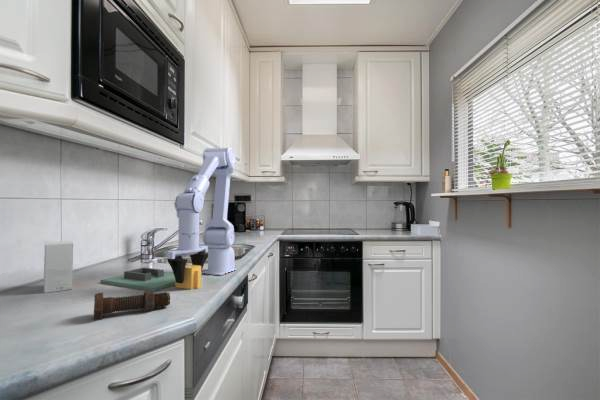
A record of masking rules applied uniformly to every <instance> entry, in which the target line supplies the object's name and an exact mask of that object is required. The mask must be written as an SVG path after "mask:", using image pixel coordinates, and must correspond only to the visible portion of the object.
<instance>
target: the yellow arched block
mask: <svg viewBox="0 0 600 400" xmlns="http://www.w3.org/2000/svg"><path fill="white" fill-rule="evenodd" d="M174 286H175V288H179V289H186V290H194V289H201V287H202V272H201V266H199V265H192V264H189V263H186V266H185V270H184V281H183V283H175V285H174Z"/></svg>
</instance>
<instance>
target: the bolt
mask: <svg viewBox="0 0 600 400" xmlns="http://www.w3.org/2000/svg"><path fill="white" fill-rule="evenodd" d="M93 301H94V303H93V304H94V305H93V321H99V320H101V321H102V319H103V315H108V314H113V313H119V312H127V311H129V312H130V311H136V310H137V311H138V310H143V312H145V313H148V312H153V311H154V309H155V308H160V307H161V308H163V307H167V306H169V305H171V294H170V292H168V291H165V292H159V293H158V292H157V293H155V291H152V290H144V291H143V294H136V295H135V294H133V295H126V296H116V297H112V296H109V297H108V296H107V297H104V292H97V293H95V294H94V300H93Z"/></svg>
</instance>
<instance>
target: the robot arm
mask: <svg viewBox="0 0 600 400" xmlns="http://www.w3.org/2000/svg"><path fill="white" fill-rule="evenodd" d="M235 168H236V154H235V150H234V149H233V148H232V147H230V146H228V147H206V148H205V149H204V150H203V153H202V164H201V166H200V169H199V171H198V174H195V175H193V176H192V177H191V179H190V180H189V182H188V183H187V185H186V187H185V189H184V191H183V192H181V193H179V194H178V195H176V197H175V200H174V203H173V204H174V209H175V211H176V217H177V218H178V247H176V249H173V250H169V251H167V252H166V259H167V261H166V262H168V264H169V266H170V267H171V270H172V273H174V276H175V280H176V283H183V281H184V270H185V266H186V264H188V263H187V262H188V258H184V257H187V256H189V257H190V260H191V265H199V266H201V274H204V273H205V275H214V276H223V275H225V273H226V274H229V273H228V272H230V273H232V272H231V271H233V272H235V271H234V270H236V271H237V268H235V265H236V264H235V259H236V258H235V257H236V256H235V254H236V253H235V250H234V248H233V247H232V245H233V244H234V242H235V238H236V237H235V228H234V225H233V223H232V222H230V221H229V220H228V211H229V210H228V209H229V199H230V188H231V175H232V174H233V173H235ZM213 174H214V175H215V188H214V200H213V211H212V219H211V220H209V221H208V222H207V223H205V226H204V227H205V228H204V230H203V233H202V242H203V243H204V244H203V245H200V213H201V212H202V210H203V208H204V201H205V195H206V192H207V191H208V189H209V186H210V181H209V179H210V178H211V176H212V175H213ZM206 261H207V270H205V271H203V268H204V265H205V262H206Z"/></svg>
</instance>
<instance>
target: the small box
mask: <svg viewBox="0 0 600 400" xmlns="http://www.w3.org/2000/svg"><path fill="white" fill-rule="evenodd" d="M43 258H44V259H43V262H44V263H43V293H44V294H46V293H47V294H49V293H54V292H63V291H69V290H73V280H74V279H73V271H74V269H73V268H74V267H73V265H74V264H73V262H74V243H73V241H71V240H66V241H65V240H64V241H62V240H61V241H48V242H44V257H43Z"/></svg>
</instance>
